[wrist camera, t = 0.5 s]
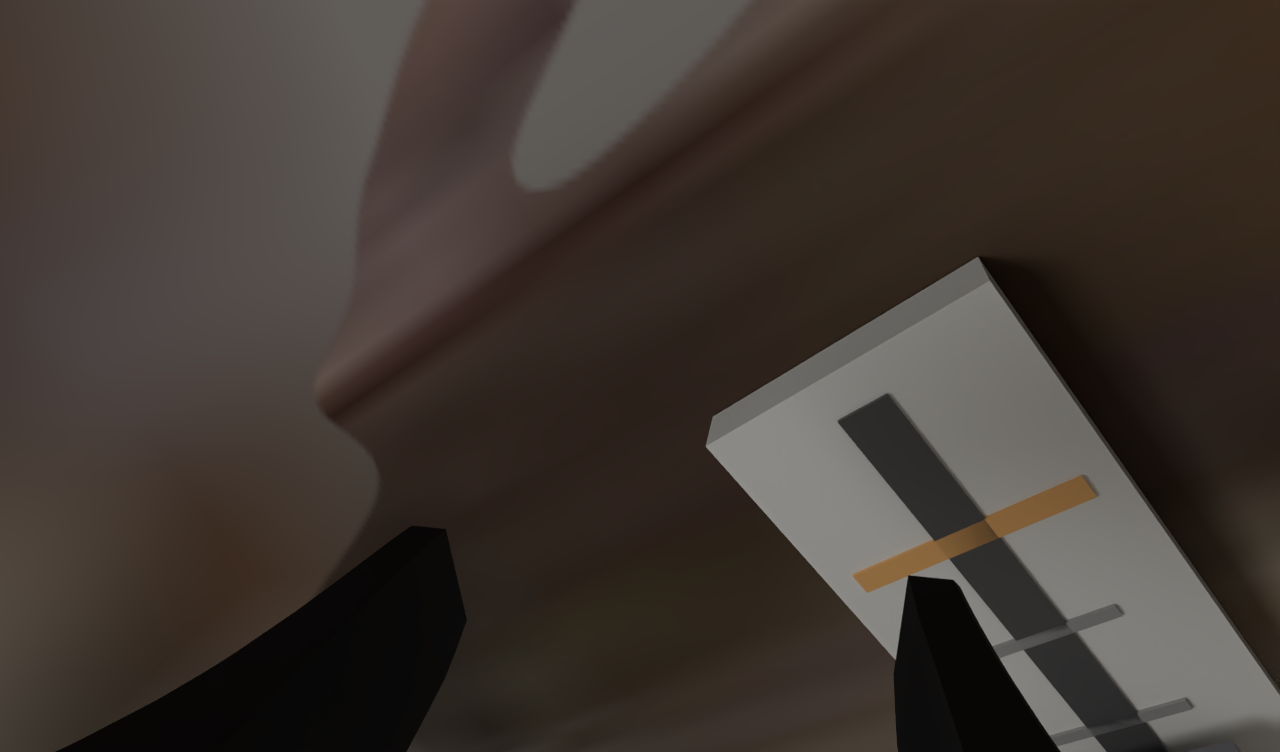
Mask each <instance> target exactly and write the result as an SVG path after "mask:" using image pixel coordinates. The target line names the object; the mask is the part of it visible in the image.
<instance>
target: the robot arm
mask: <svg viewBox="0 0 1280 752" xmlns="http://www.w3.org/2000/svg"><path fill="white" fill-rule="evenodd" d="M466 621H467V619H466V615H465V610H464V606H463V602H462V597H461V593H460V589H459V584H458V580H457V576H456V571H455V567H454V563H453V558H452V554H451V550H450V545H449V541H448V537H447V532H446V529H440V528H430V527H420V526H411V527H409V528H408V529H406V530H405V531H404V532H402V533H401V534H399V535H398V536H396V537H395V538H394V539H392V540H391V541H390V542H388V543H387V544H386V545H384V546H383V547H382V548H380V549H379V550H378V551H376V552H375V553H374V554H372V555H371V556H370V557H368V558H367V559H366V560H364V561H363V562H362V563H360V564H359V565H358V566H356V567H355V568H354V569H352V570H351V571H350V572H348V573H347V574H346V575H344V576H343V577H342V578H340V579H339V580H338V581H336V582H335V583H334V584H332V585H331V586H330V587H328V588H327V589H326V590H324V591H323V592H322V593H320V594H319V595H317V596H316V597H315V598H313V599H312V600H311V601H309V602H308V603H307V604H305V605H304V606H303V607H301V608H300V609H298V610H297V611H296V612H294V613H293V614H291V615H290V616H289V617H287V618H285V619H284V620H282V621H281V622H280V623H278V624H277V625H275V626H274V627H272V628H271V629H269V630H268V631H267V632H265V633H263V634H262V635H261V636H259V637H258V638H256V639H255V640H253V641H252V642H250V643H249V644H247V645H246V646H244V647H243V648H242V649H240V650H239V651H237V652H236V653H234V654H233V655H231V656H229V657H228V658H226V659H225V660H223V661H222V662H220V663H218V664H217V665H215V666H214V667H212V668H210V669H209V670H207V671H205V672H204V673H202V674H201V675H199V676H197V677H195V678H194V679H192V680H190V681H189V682H187V683H185V684H184V685H182V686H180V687H178V688H177V689H175V690H173V691H172V692H170V693H168V694H167V695H165V696H163V697H161V698H160V699H158V700H156V701H154V702H152V703H150V704H149V705H147V706H145V707H143V708H141V709H139V710H137V711H135V712H133V713H131V714H129V715H127V716H126V717H124V718H122V719H120V720H118V721H116V722H114V723H112V724H110V725H108V726H106V727H104V728H102V729H101V730H98V731H97V732H95V733H93V734H91V735H89V736H87V737H85V738H83V739H81V740H79V741H77V742H75V743H73V744H71V745H69V746H67V747H65V748H63V749H60V750H58V751H56V752H406V751H407V749H408V748H409V746H410V744H411V742H412V740H413V738H414V736H415V735H416V733H417V731H418V729H419V727H420V725H421V723H422V721H423V719H424V718H425V716H426V714H427V712H428V710H429V708H430V706H431V704H432V702H433V700H434V698H435V697H436V695H437V693H438V691H439V689H440V687H441V685H442V683H443V681H444V679H445V676H446V674H447V671H448V669H449V666H450V664H451V661H452V659H453V656H454V654H455V651H456V648H457V646H458V643H459V640H460V637H461V635H462V632H463V629H464V626H465V624H466ZM894 693H895V714H896V733H897V747H898V752H1061V751H1060V750H1059V748H1058V747H1057V746H1056V744H1055V743H1054V741H1053V740H1052V738H1051V737H1050V735H1049V734H1048V733H1047V731H1046V730H1045V728H1044V727H1043V725H1042V724H1041V722H1040V721H1039V719H1038V718H1037V716H1036V715H1035V713H1034V712H1033V710H1032V709H1031V707H1030V706H1029V704H1028V703H1027V701H1026V700H1025V698H1024V696H1023V695H1022V693H1021V692H1020V690H1019V689H1018V687H1017V686H1016V684H1015V683H1014V681H1013V680H1012V678H1011V676H1010V675H1009V673H1008V671H1007V670H1006V668H1005V667H1004V665H1003V663H1002V662H1001V660H1000V658H999V657H998V655H997V653H996V652H995V650H994V648H993V646H992V645H991V643H990V641H989V640H988V638H987V636H986V634H985V633H984V631H983V629H982V627H981V626H980V624H979V622H978V620H977V618H976V617H975V615H974V613H973V611H972V609H971V607H970V605H969V603H968V601H967V599H966V598H965V596H964V594H963V591H962V589H961V587H960V586H959V585H958V584H957V583H956V582H955V581H954V580H951V579H941V578H931V577H921V576H911V575H908V580H907V586H906V593H905V600H904V607H903V614H902V621H901V627H900V634H899V641H898V648H897V655H896V662H895V668H894Z"/></svg>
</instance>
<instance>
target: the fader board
mask: <svg viewBox="0 0 1280 752" xmlns="http://www.w3.org/2000/svg"><path fill="white" fill-rule="evenodd" d="M706 447H707V448H708V449H709V451H710V452H711V453H712V454H713V455H714V456H715V457H716V458H717V460H718V461H719V462H720V463H721V464H722V465H723V466H724V467H725V469H726V470H727V471H728V472H729V473H730V474H731V475H732V476H733V478H734V479H735V480H736V481H737V482H738V483H739V484H740V485H741V487H742V488H743V489H744V490H745V491H746V492H747V493H748V494H749V496H750V497H751V498H752V499H753V500H754V501H755V502H756V503H757V505H758V506H759V507H760V508H761V509H762V510H763V511H764V512H765V514H766V515H767V516H768V517H769V518H770V519H771V520H772V521H773V523H774V524H775V525H776V526H777V527H778V528H779V529H780V530H781V532H782V533H783V534H784V535H785V536H786V537H787V538H788V539H789V541H790V542H791V543H792V544H793V545H794V546H795V547H796V548H797V550H798V551H799V552H800V553H801V554H802V555H803V556H804V557H805V559H806V560H807V561H808V562H809V563H810V564H811V565H812V566H813V568H814V569H815V570H816V571H817V572H818V573H819V574H820V576H821V577H822V578H823V579H824V580H825V581H826V582H827V583H828V585H829V586H830V587H831V588H832V589H833V590H834V591H835V592H836V594H837V595H838V596H839V597H840V598H841V599H842V600H843V601H844V603H845V604H846V605H847V606H848V607H849V608H850V609H851V610H852V612H853V613H854V614H855V615H856V616H857V617H858V618H859V619H860V621H861V622H862V623H863V624H864V625H865V626H866V627H867V628H868V630H869V631H870V632H871V633H872V634H873V635H874V636H875V637H876V639H877V640H878V641H879V642H880V643H881V644H882V645H883V646H884V648H885V649H886V650H887V651H888V652H889V653H890V654H891V655H892V657H893V658H894V659H895V660H896V655H897V648H898V641H899V634H900V627H901V621H902V614H903V607H904V600H905V593H906V586H907V580H908V575H911V576H921V577H931V578H941V579H951V580H954V581H955V582H956V583H957V584H958V585H959V586H960V587H961V589H962V591H963V594H964V596H965V598H966V599H967V601H968V603H969V605H970V607H971V609H972V611H973V613H974V615H975V617H976V618H977V620H978V622H979V624H980V626H981V627H982V629H983V631H984V633H985V634H986V636H987V638H988V640H989V641H990V643H991V645H992V646H993V648H994V650H995V652H996V653H997V655H998V657H999V658H1000V660H1001V662H1002V663H1003V665H1004V667H1005V668H1006V670H1007V671H1008V673H1009V675H1010V676H1011V678H1012V680H1013V681H1014V683H1015V684H1016V686H1017V687H1018V689H1019V690H1020V692H1021V693H1022V695H1023V696H1024V698H1025V700H1026V701H1027V703H1028V704H1029V706H1030V707H1031V709H1032V710H1033V712H1034V713H1035V715H1036V716H1037V718H1038V719H1039V721H1040V722H1041V724H1042V725H1043V727H1044V728H1045V730H1046V731H1047V733H1048V734H1049V735H1050V737H1051V738H1052V740H1053V741H1054V743H1055V744H1056V746H1057V747H1058V748H1059V750H1060V751H1061V752H1185V751H1189V750H1193V749H1197V748H1201V747H1205V746H1209V745H1213V744H1217V743H1221V742H1225V741H1229V740H1233V742H1234V743H1235V744H1236V746H1237V747H1238V748H1239V750H1240V751H1241V752H1280V689H1279V688H1278V686H1277V685H1276V684H1275V682H1274V681H1273V679H1272V678H1271V676H1270V675H1269V673H1268V672H1267V671H1266V669H1265V668H1264V666H1263V665H1262V663H1261V662H1260V661H1259V659H1258V658H1257V656H1256V655H1255V653H1254V652H1253V651H1252V649H1251V648H1250V646H1249V645H1248V643H1247V642H1246V640H1245V639H1244V638H1243V636H1242V635H1241V633H1240V632H1239V630H1238V629H1237V628H1236V626H1235V625H1234V623H1233V622H1232V620H1231V619H1230V618H1229V616H1228V615H1227V613H1226V612H1225V610H1224V609H1223V607H1222V606H1221V605H1220V603H1219V602H1218V600H1217V599H1216V597H1215V596H1214V595H1213V593H1212V592H1211V590H1210V589H1209V587H1208V586H1207V585H1206V583H1205V582H1204V580H1203V579H1202V577H1201V576H1200V574H1199V573H1198V572H1197V570H1196V569H1195V567H1194V566H1193V564H1192V563H1191V562H1190V560H1189V559H1188V557H1187V556H1186V554H1185V553H1184V552H1183V550H1182V549H1181V547H1180V546H1179V544H1178V543H1177V541H1176V540H1175V539H1174V537H1173V536H1172V534H1171V533H1170V531H1169V530H1168V529H1167V527H1166V526H1165V524H1164V523H1163V521H1162V520H1161V519H1160V517H1159V516H1158V514H1157V513H1156V511H1155V510H1154V508H1153V507H1152V506H1151V504H1150V503H1149V501H1148V500H1147V498H1146V497H1145V496H1144V494H1143V493H1142V491H1141V490H1140V488H1139V487H1138V486H1137V484H1136V483H1135V481H1134V480H1133V478H1132V477H1131V475H1130V474H1129V473H1128V471H1127V470H1126V468H1125V467H1124V465H1123V464H1122V463H1121V461H1120V460H1119V458H1118V457H1117V455H1116V454H1115V453H1114V451H1113V450H1112V448H1111V447H1110V445H1109V444H1108V442H1107V441H1106V440H1105V438H1104V437H1103V435H1102V434H1101V432H1100V431H1099V430H1098V428H1097V427H1096V425H1095V424H1094V422H1093V421H1092V420H1091V418H1090V417H1089V415H1088V414H1087V412H1086V411H1085V409H1084V408H1083V407H1082V405H1081V404H1080V402H1079V401H1078V399H1077V398H1076V397H1075V395H1074V394H1073V392H1072V391H1071V389H1070V388H1069V387H1068V385H1067V384H1066V382H1065V381H1064V379H1063V378H1062V376H1061V375H1060V374H1059V372H1058V371H1057V369H1056V368H1055V366H1054V365H1053V364H1052V362H1051V361H1050V359H1049V358H1048V356H1047V355H1046V353H1045V352H1044V351H1043V349H1042V348H1041V346H1040V345H1039V343H1038V342H1037V341H1036V339H1035V338H1034V336H1033V335H1032V333H1031V332H1030V331H1029V329H1028V328H1027V326H1026V325H1025V323H1024V322H1023V320H1022V319H1021V318H1020V316H1019V315H1018V313H1017V312H1016V310H1015V309H1014V308H1013V306H1012V305H1011V303H1010V302H1009V300H1008V299H1007V298H1006V296H1005V295H1004V293H1003V292H1002V290H1001V289H1000V287H999V286H998V285H997V283H996V282H995V280H994V279H993V277H992V276H991V275H990V273H989V272H988V270H987V269H986V267H985V266H984V265H983V263H982V262H981V260H980V259H979V257H977V258H975V259H974V260H972V261H970V262H969V263H967V264H965V265H964V266H962V267H960V268H959V269H957V270H955V271H954V272H952V273H950V274H949V275H947V276H945V277H944V278H942V279H940V280H939V281H937V282H935V283H934V284H932V285H930V286H929V287H927V288H925V289H924V290H922V291H921V292H919V293H917V294H916V295H914V296H912V297H911V298H909V299H907V300H906V301H904V302H902V303H901V304H899V305H897V306H896V307H894V308H892V309H891V310H889V311H887V312H886V313H884V314H882V315H881V316H879V317H877V318H876V319H874V320H872V321H871V322H869V323H867V324H866V325H864V326H862V327H861V328H859V329H858V330H856V331H854V332H853V333H851V334H849V335H848V336H846V337H844V338H843V339H841V340H839V341H838V342H836V343H834V344H833V345H831V346H829V347H828V348H826V349H824V350H823V351H821V352H819V353H818V354H816V355H814V356H813V357H811V358H809V359H808V360H806V361H804V362H803V363H801V364H799V365H798V366H796V367H795V368H793V369H791V370H790V371H788V372H786V373H785V374H783V375H781V376H780V377H778V378H776V379H775V380H773V381H771V382H770V383H768V384H766V385H765V386H763V387H761V388H760V389H758V390H756V391H755V392H753V393H751V394H750V395H748V396H746V397H745V398H743V399H741V400H740V401H738V402H736V403H735V404H733V405H732V406H730V407H728V408H727V409H725V410H723V411H722V412H720V413H718V414H717V415H715V416H713V418H712V422H711V427H710V431H709V435H708V439H707V443H706Z"/></svg>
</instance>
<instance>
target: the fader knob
mask: <svg viewBox="0 0 1280 752" xmlns="http://www.w3.org/2000/svg"><path fill="white" fill-rule="evenodd" d="M1185 752H1241V751H1240V750H1239V748H1238V747H1237V746H1236V744H1235V743H1234V742H1233V740H1229V741H1225V742H1221V743H1217V744H1213V745H1209V746H1205V747H1201V748H1197V749H1193V750H1189V751H1185Z"/></svg>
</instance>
